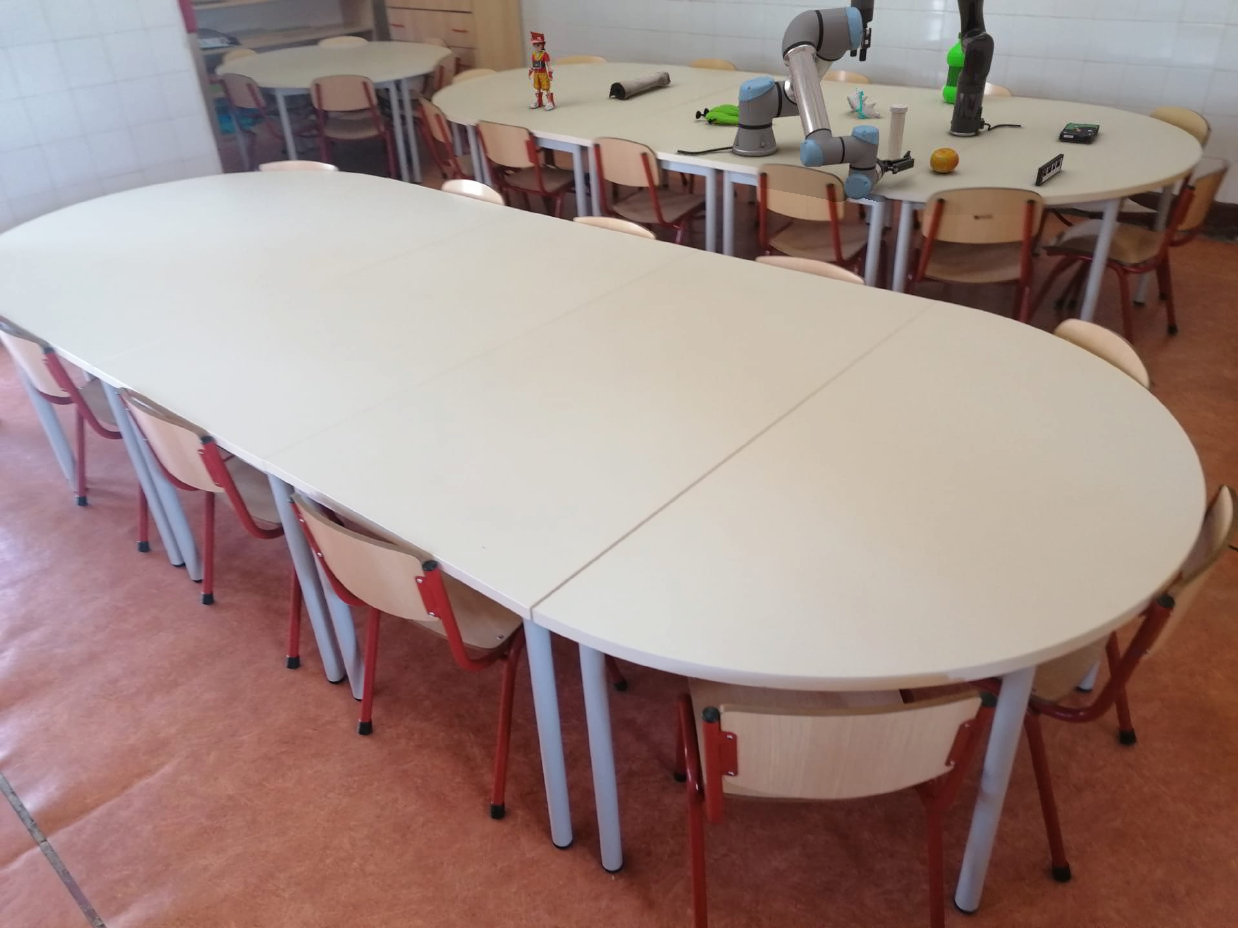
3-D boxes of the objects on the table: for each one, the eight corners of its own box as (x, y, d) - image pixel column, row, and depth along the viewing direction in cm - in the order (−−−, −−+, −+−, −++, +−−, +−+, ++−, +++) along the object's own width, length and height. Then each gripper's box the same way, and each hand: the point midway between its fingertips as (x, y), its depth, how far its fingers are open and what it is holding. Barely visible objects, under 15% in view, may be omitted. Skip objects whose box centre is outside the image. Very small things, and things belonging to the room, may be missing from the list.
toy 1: (525, 109, 381) (517, 32, 364) (534, 104, 388) (527, 28, 371) (550, 110, 377) (543, 32, 360) (559, 105, 384) (553, 28, 367)
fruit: (924, 163, 281) (941, 140, 278) (925, 165, 289) (941, 143, 286) (946, 178, 280) (963, 155, 277) (947, 180, 288) (963, 158, 285)
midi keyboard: (1039, 185, 269) (1043, 168, 266) (1035, 184, 270) (1038, 168, 267) (1060, 170, 279) (1064, 154, 277) (1056, 169, 280) (1060, 153, 277)
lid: (897, 108, 289) (898, 103, 288) (910, 111, 286) (911, 106, 285) (886, 111, 287) (887, 106, 286) (900, 114, 283) (900, 109, 282)
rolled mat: (651, 76, 408) (662, 61, 399) (662, 93, 408) (674, 79, 400) (605, 92, 391) (616, 77, 383) (617, 110, 391) (628, 95, 383)
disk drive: (1091, 144, 300) (1098, 132, 310) (1093, 136, 299) (1100, 124, 309) (1057, 141, 305) (1066, 130, 315) (1059, 133, 303) (1067, 121, 313)
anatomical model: (842, 87, 348) (867, 80, 347) (844, 114, 354) (869, 107, 353) (853, 96, 336) (879, 89, 335) (855, 124, 342) (881, 117, 341)
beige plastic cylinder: (891, 160, 298) (898, 105, 288) (902, 162, 295) (909, 107, 285) (882, 162, 296) (889, 107, 286) (893, 165, 293) (900, 110, 283)
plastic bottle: (973, 101, 354) (984, 32, 339) (955, 106, 349) (966, 36, 335) (952, 97, 361) (962, 29, 346) (934, 102, 356) (944, 33, 342)
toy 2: (685, 123, 344) (756, 136, 332) (687, 109, 342) (758, 121, 329) (718, 112, 365) (786, 123, 352) (719, 98, 362) (788, 110, 350)
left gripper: (827, 181, 276) (847, 161, 291) (910, 189, 266) (925, 169, 281) (829, 156, 272) (849, 138, 287) (913, 164, 262) (929, 144, 277)
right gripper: (881, 7, 288) (876, 62, 297) (865, 2, 300) (860, 54, 309) (859, 10, 287) (854, 64, 297) (843, 4, 299) (839, 56, 308)
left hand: (887, 153), depth 284 cm, fingers open, 13 cm apart
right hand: (857, 59), depth 303 cm, fingers open, 8 cm apart
